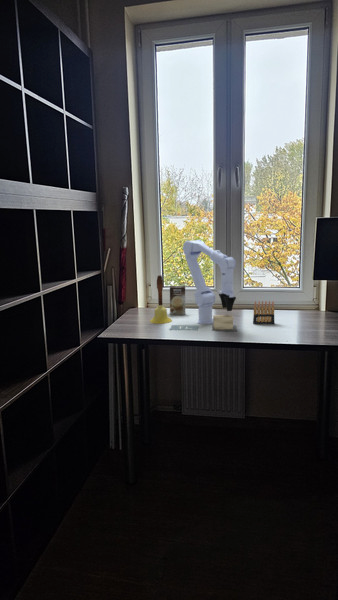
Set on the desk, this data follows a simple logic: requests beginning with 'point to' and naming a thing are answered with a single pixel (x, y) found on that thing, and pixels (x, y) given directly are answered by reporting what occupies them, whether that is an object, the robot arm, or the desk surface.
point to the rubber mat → (225, 329)
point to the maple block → (223, 322)
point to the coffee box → (177, 300)
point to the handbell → (160, 306)
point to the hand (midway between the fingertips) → (227, 309)
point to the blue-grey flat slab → (184, 327)
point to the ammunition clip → (263, 313)
